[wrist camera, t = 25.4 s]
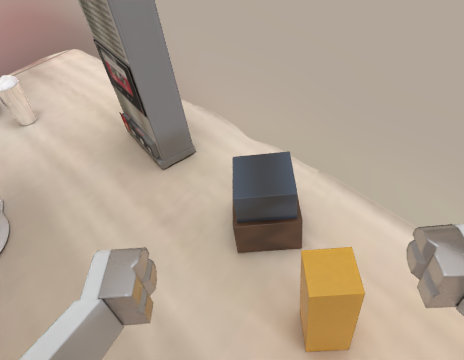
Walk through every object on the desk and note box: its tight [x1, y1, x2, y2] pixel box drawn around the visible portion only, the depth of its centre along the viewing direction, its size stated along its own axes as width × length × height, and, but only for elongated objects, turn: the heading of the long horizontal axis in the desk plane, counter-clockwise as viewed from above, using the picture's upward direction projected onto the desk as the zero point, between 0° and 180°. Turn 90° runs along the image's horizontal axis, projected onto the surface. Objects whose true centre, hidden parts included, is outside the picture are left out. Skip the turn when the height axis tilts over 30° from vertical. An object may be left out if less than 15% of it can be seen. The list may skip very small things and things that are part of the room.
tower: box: [233, 152, 302, 253], centre depth 41 cm, size 8×8×9 cm
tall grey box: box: [78, 0, 196, 169], centre depth 51 cm, size 14×6×25 cm, turn 36°
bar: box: [300, 247, 365, 352], centre depth 31 cm, size 4×4×11 cm
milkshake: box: [0, 75, 36, 126], centre depth 66 cm, size 4×5×10 cm
